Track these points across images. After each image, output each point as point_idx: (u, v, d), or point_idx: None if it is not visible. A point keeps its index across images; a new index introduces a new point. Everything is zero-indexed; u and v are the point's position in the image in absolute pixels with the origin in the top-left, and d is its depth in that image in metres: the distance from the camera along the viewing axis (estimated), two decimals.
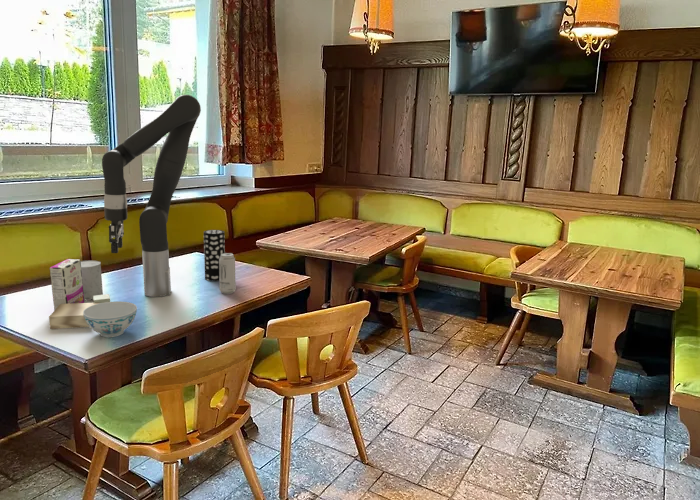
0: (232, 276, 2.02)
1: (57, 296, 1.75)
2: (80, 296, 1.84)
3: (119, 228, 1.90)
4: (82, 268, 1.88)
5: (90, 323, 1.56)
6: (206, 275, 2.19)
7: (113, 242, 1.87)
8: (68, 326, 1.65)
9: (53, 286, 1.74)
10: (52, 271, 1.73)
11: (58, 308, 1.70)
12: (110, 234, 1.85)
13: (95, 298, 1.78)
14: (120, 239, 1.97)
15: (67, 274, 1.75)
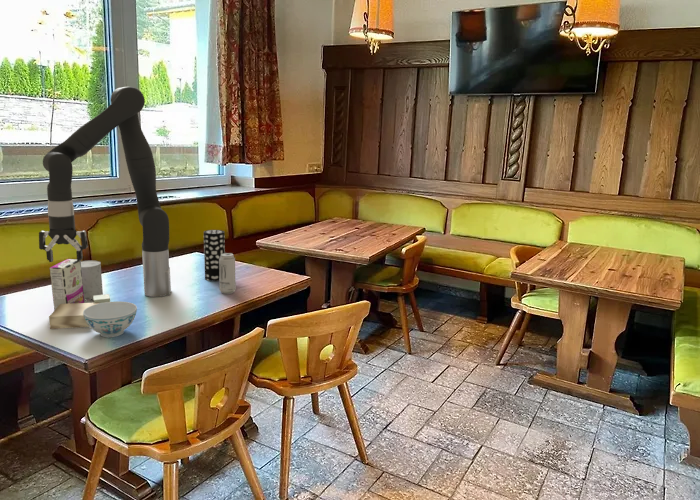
0: (232, 276, 2.02)
1: (57, 296, 1.75)
2: (80, 296, 1.84)
3: None
4: (82, 268, 1.88)
5: (90, 323, 1.56)
6: (206, 275, 2.19)
7: (84, 248, 1.78)
8: (68, 326, 1.65)
9: (53, 286, 1.74)
10: (52, 271, 1.73)
11: (58, 308, 1.70)
12: (85, 240, 1.77)
13: (95, 298, 1.78)
14: (52, 251, 1.76)
15: (67, 274, 1.75)
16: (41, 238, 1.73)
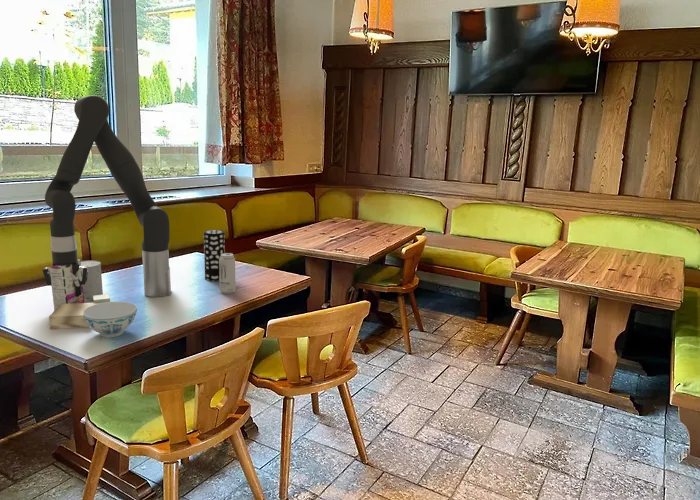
0: (232, 276, 2.02)
1: (57, 296, 1.75)
2: (80, 296, 1.84)
3: None
4: None
5: (90, 323, 1.56)
6: (206, 275, 2.19)
7: (83, 283, 1.81)
8: (68, 326, 1.65)
9: (53, 286, 1.74)
10: (52, 271, 1.73)
11: (58, 308, 1.70)
12: (86, 276, 1.79)
13: (95, 298, 1.78)
14: None
15: (67, 273, 1.75)
16: (46, 275, 1.76)
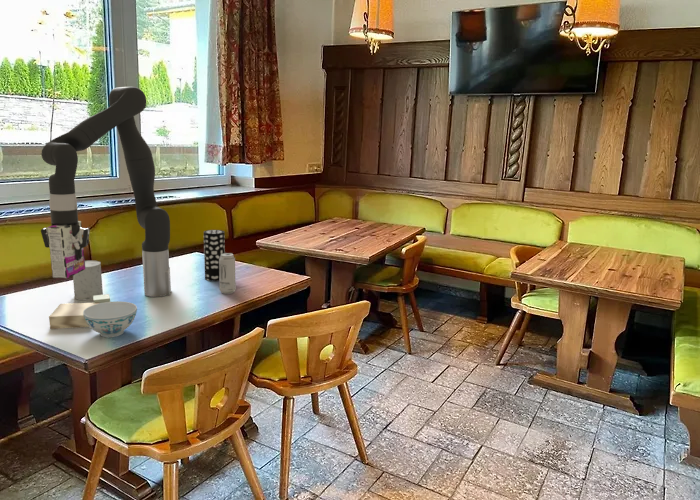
0: (232, 276, 2.02)
1: (55, 258, 1.63)
2: (80, 260, 1.72)
3: None
4: None
5: (90, 323, 1.56)
6: (206, 275, 2.19)
7: (84, 246, 1.69)
8: (68, 326, 1.65)
9: (51, 247, 1.62)
10: (50, 231, 1.61)
11: (58, 308, 1.70)
12: (87, 238, 1.68)
13: (95, 298, 1.78)
14: None
15: (66, 234, 1.63)
16: (44, 235, 1.65)
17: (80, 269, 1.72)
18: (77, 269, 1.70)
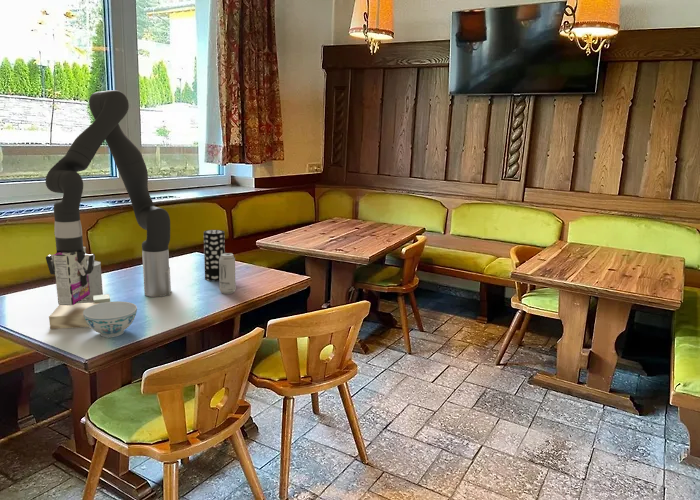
0: (232, 276, 2.02)
1: (61, 285, 1.63)
2: (85, 286, 1.72)
3: None
4: None
5: (90, 323, 1.56)
6: (206, 275, 2.19)
7: (89, 272, 1.69)
8: (68, 326, 1.65)
9: (57, 275, 1.62)
10: (56, 258, 1.61)
11: (58, 308, 1.70)
12: (92, 264, 1.68)
13: (95, 298, 1.78)
14: None
15: (71, 261, 1.63)
16: (49, 263, 1.64)
17: (85, 294, 1.72)
18: (83, 295, 1.70)
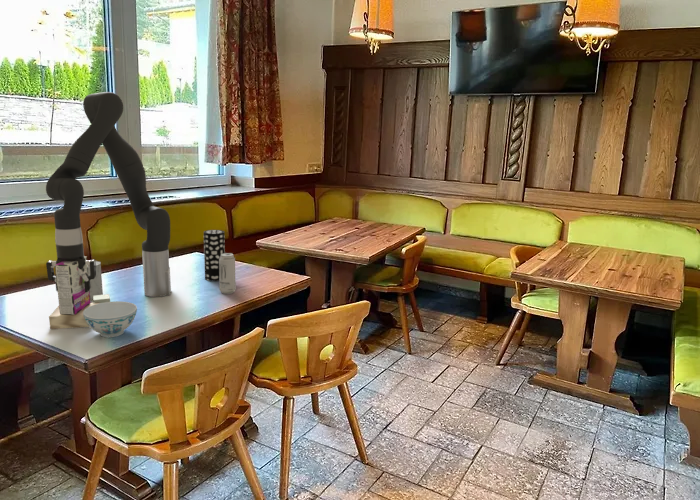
0: (232, 276, 2.02)
1: (63, 295, 1.64)
2: (86, 295, 1.73)
3: None
4: None
5: (90, 323, 1.56)
6: (206, 275, 2.19)
7: (92, 278, 1.69)
8: (68, 326, 1.65)
9: (59, 285, 1.63)
10: (58, 268, 1.61)
11: (58, 308, 1.70)
12: (94, 270, 1.68)
13: (95, 298, 1.78)
14: None
15: (73, 271, 1.64)
16: (49, 269, 1.65)
17: (86, 304, 1.73)
18: (84, 304, 1.71)
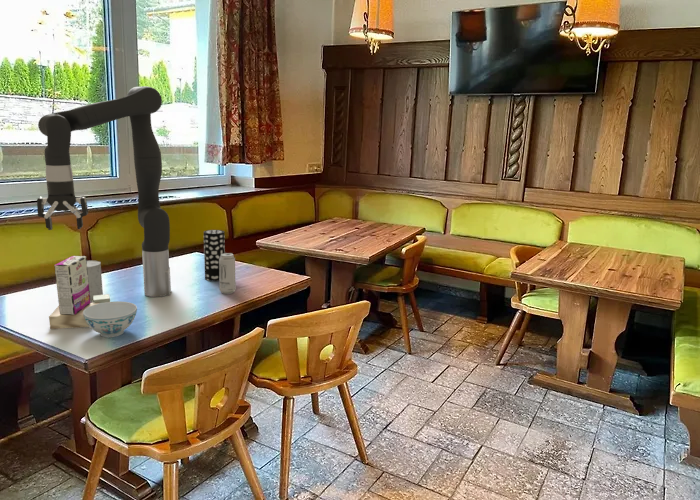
0: (232, 276, 2.02)
1: (62, 295, 1.64)
2: (86, 295, 1.73)
3: None
4: None
5: (90, 323, 1.56)
6: (206, 275, 2.19)
7: (84, 215, 1.72)
8: (68, 326, 1.65)
9: (58, 285, 1.63)
10: (57, 269, 1.61)
11: (58, 308, 1.70)
12: (85, 206, 1.71)
13: (95, 298, 1.78)
14: (51, 219, 1.71)
15: (73, 271, 1.64)
16: (39, 205, 1.67)
17: (86, 304, 1.73)
18: (84, 304, 1.71)
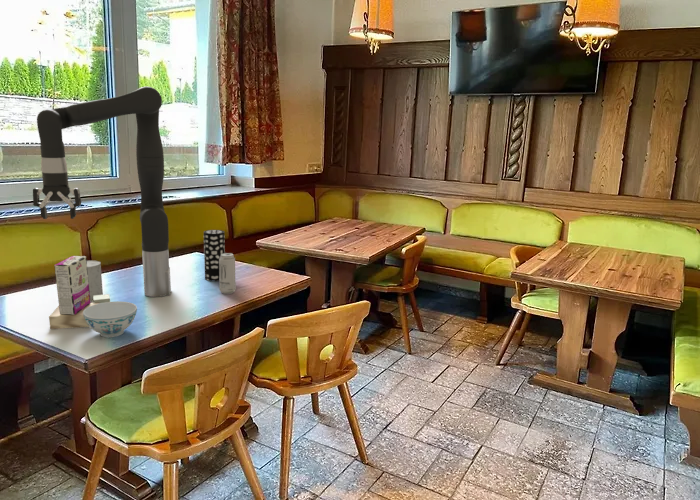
0: (232, 276, 2.02)
1: (62, 295, 1.64)
2: (86, 295, 1.73)
3: None
4: None
5: (90, 323, 1.56)
6: (206, 275, 2.19)
7: None
8: (68, 326, 1.65)
9: (58, 285, 1.63)
10: (57, 269, 1.61)
11: (58, 308, 1.70)
12: (78, 197, 1.80)
13: (95, 298, 1.78)
14: (46, 209, 1.80)
15: (73, 271, 1.64)
16: (35, 195, 1.77)
17: (86, 304, 1.73)
18: (84, 304, 1.71)
